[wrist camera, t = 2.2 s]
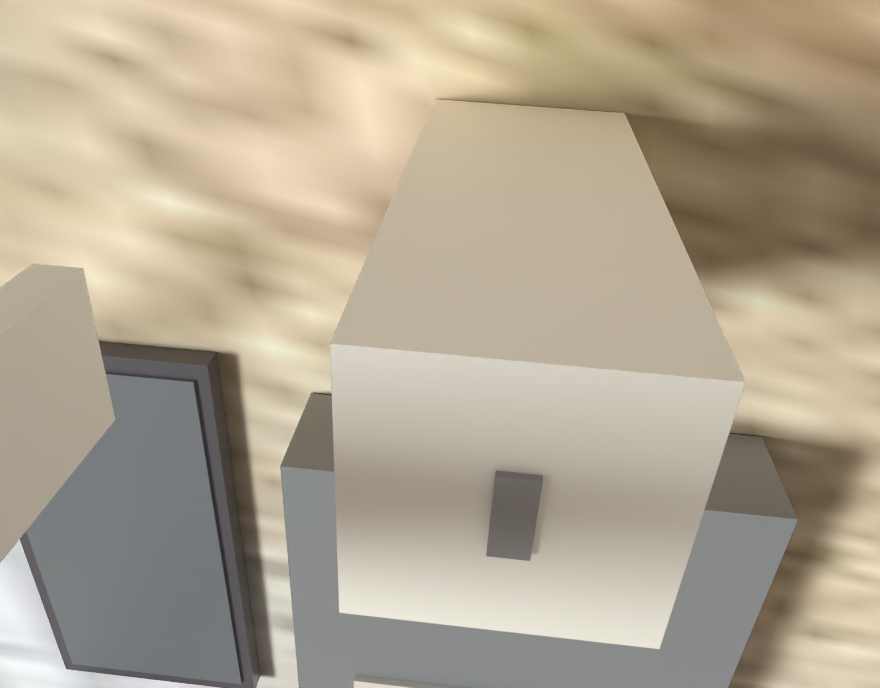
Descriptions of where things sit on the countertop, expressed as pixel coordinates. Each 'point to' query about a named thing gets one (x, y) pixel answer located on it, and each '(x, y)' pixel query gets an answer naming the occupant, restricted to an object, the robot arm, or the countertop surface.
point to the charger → (526, 386)
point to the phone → (151, 533)
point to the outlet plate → (524, 655)
